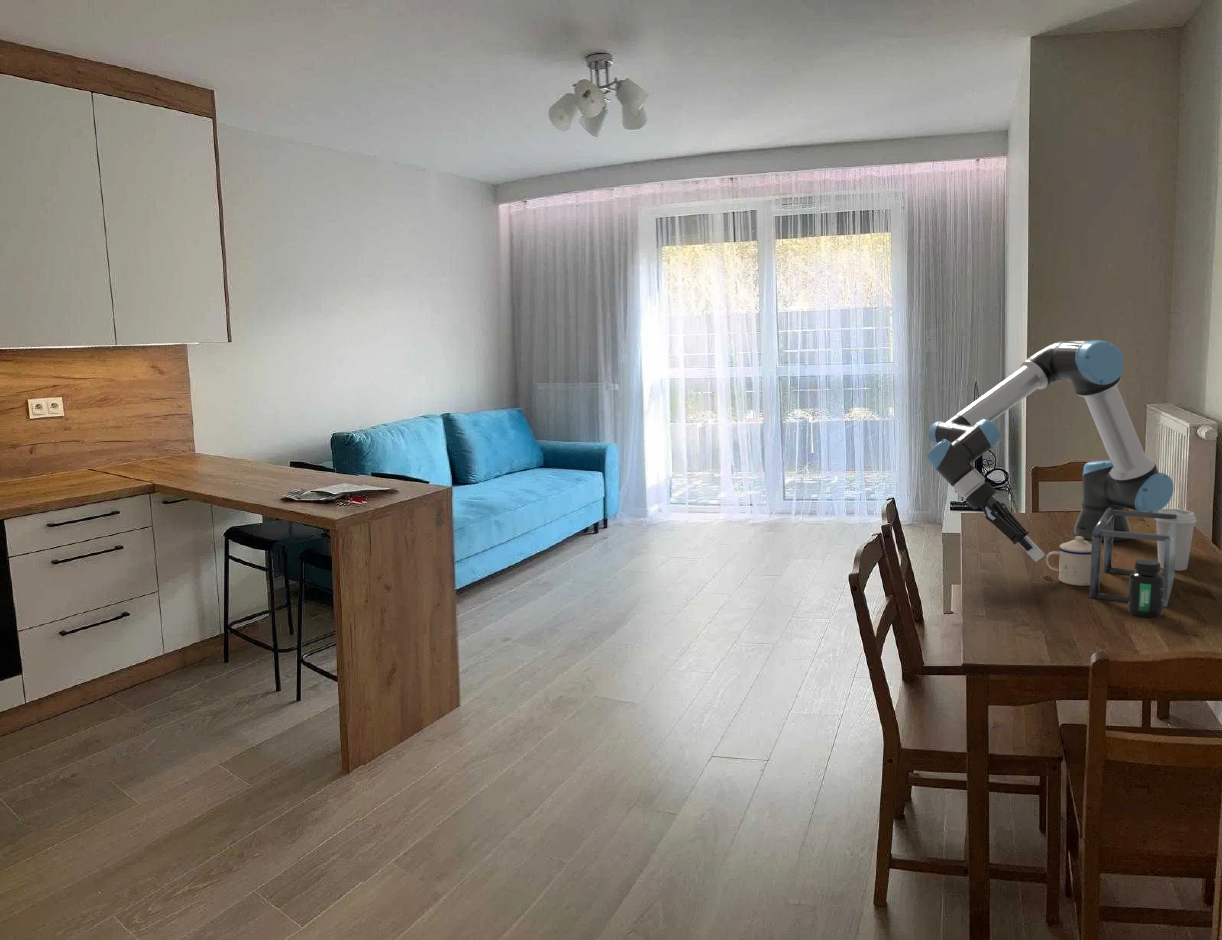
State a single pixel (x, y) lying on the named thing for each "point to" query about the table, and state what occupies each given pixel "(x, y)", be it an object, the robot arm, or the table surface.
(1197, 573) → the table surface
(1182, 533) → the coffee cup
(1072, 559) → the teacup with lid
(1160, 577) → the supplement bottle
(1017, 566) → the table surface
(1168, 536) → the box
